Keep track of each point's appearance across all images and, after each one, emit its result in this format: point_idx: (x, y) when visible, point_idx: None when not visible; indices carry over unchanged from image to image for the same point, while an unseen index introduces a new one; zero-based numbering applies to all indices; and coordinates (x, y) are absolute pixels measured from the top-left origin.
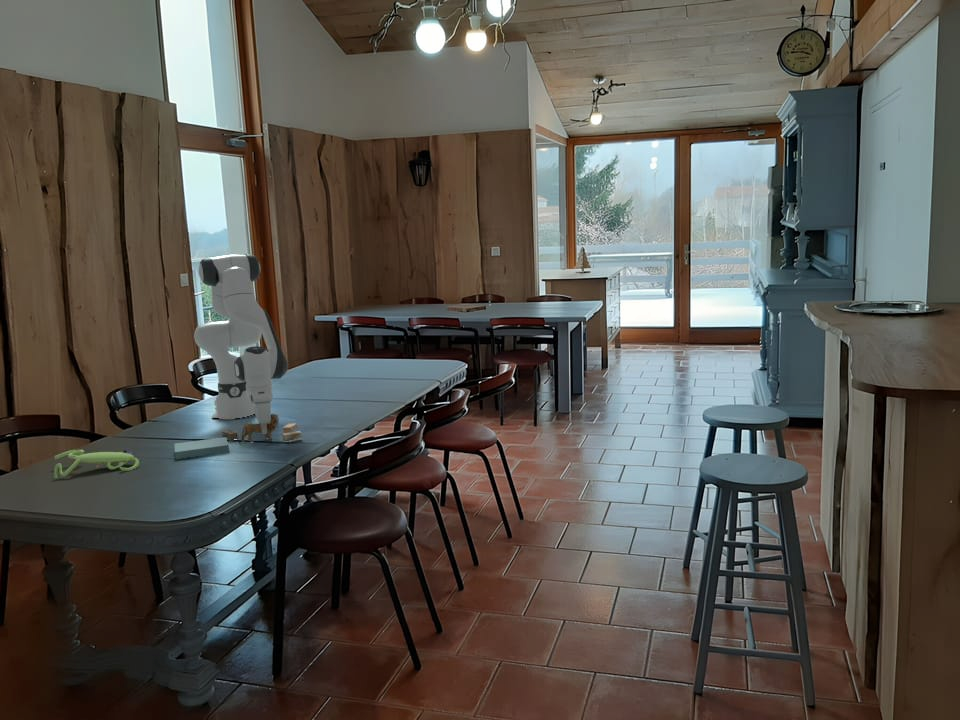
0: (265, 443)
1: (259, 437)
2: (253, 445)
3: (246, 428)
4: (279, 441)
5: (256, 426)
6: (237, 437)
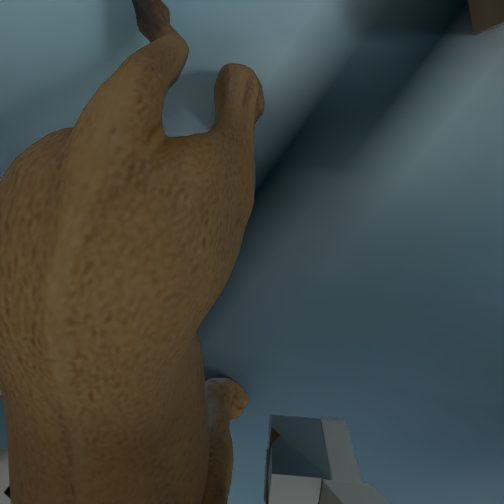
0: None
1: (394, 331)
2: None
3: (25, 151)
4: None
5: (6, 407)
6: (496, 16)
